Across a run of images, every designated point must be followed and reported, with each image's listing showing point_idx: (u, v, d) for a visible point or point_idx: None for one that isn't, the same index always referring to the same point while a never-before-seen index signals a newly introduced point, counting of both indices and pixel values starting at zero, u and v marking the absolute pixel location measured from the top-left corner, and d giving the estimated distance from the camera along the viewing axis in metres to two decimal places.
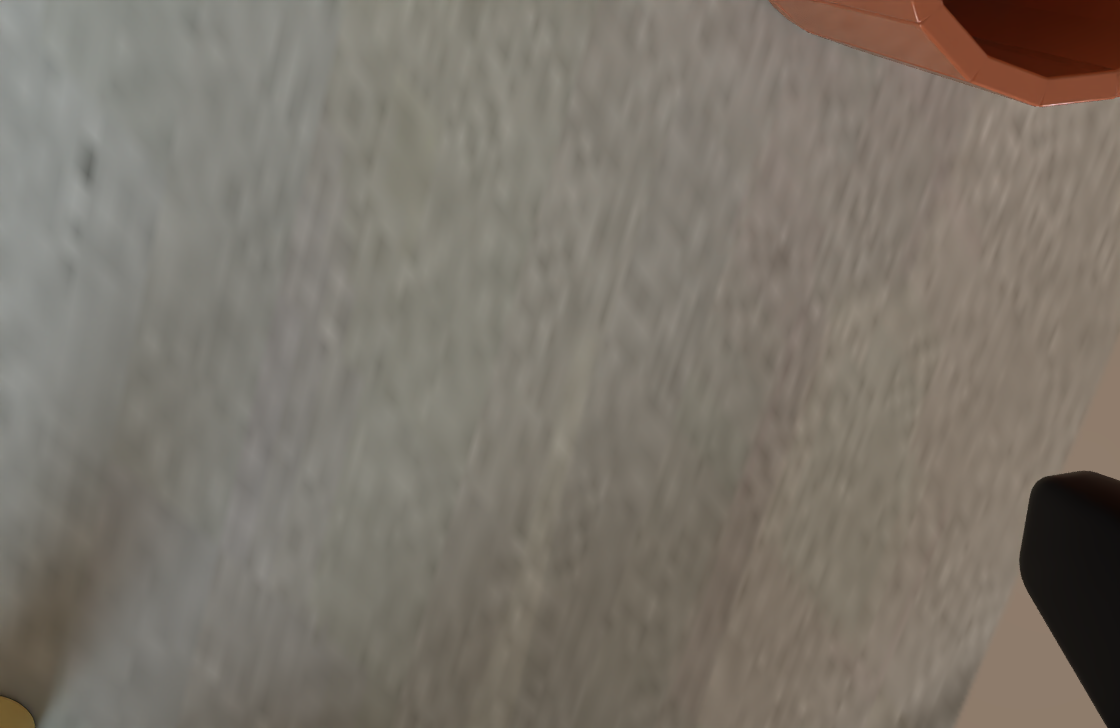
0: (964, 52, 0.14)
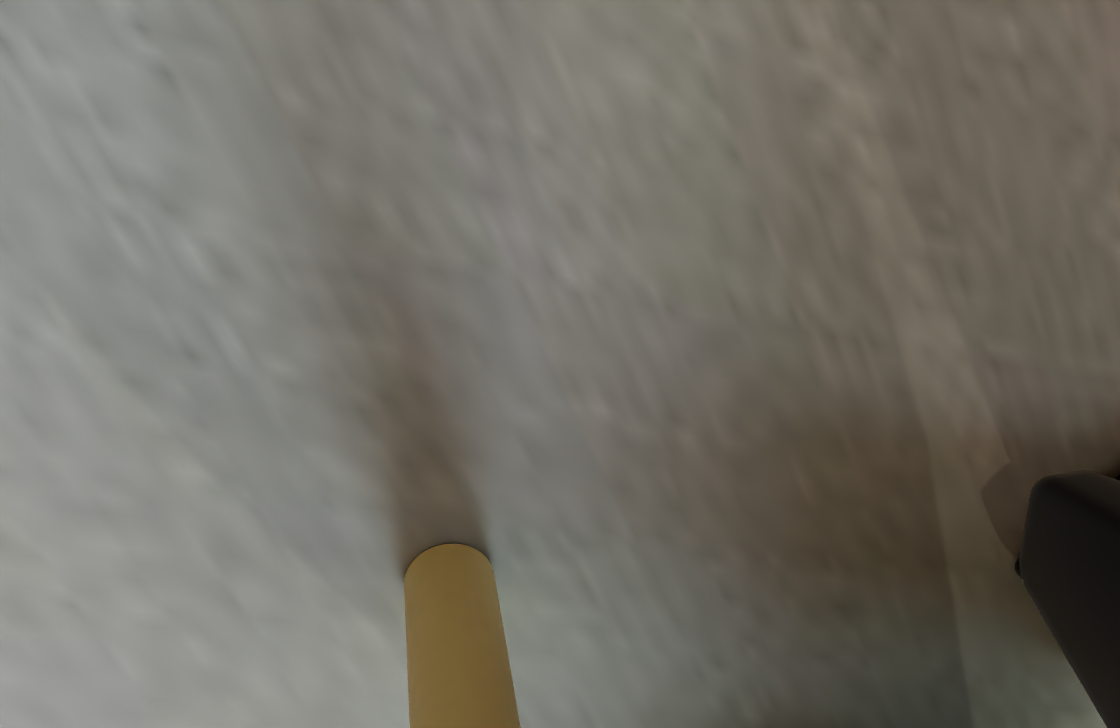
0: None
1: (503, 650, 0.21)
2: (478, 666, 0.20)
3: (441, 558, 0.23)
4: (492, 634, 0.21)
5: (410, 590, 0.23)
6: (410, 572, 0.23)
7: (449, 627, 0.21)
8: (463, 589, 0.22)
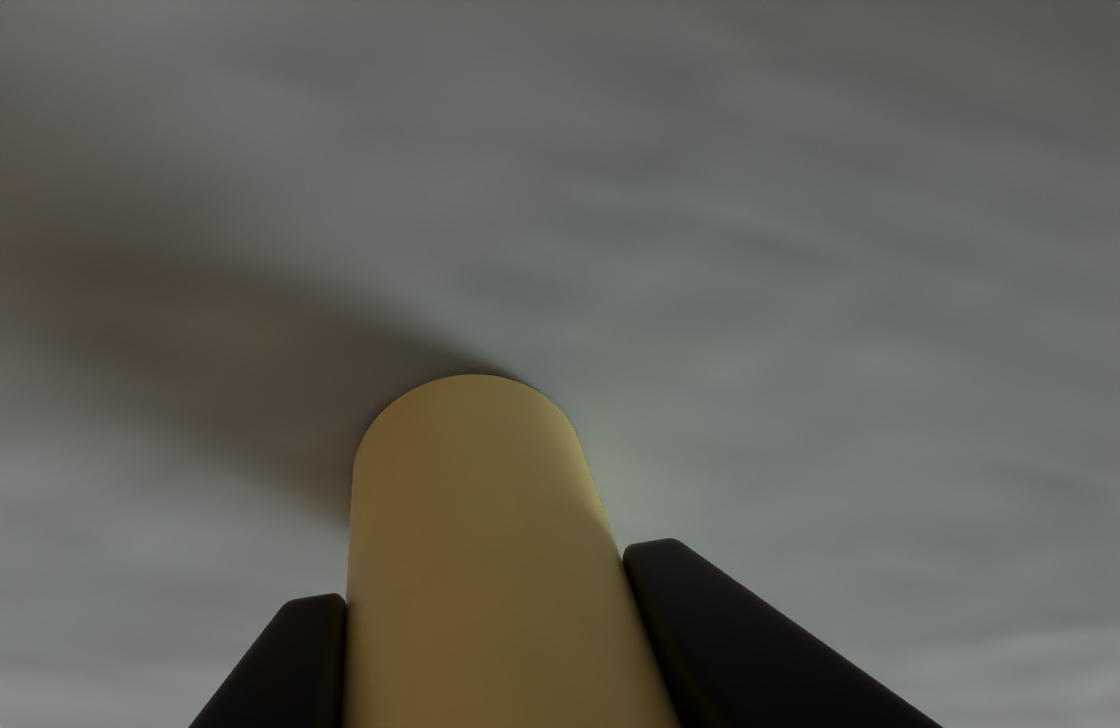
0: None
1: (544, 603, 0.06)
2: None
3: (366, 463, 0.08)
4: (488, 582, 0.06)
5: None
6: None
7: (360, 653, 0.06)
8: (398, 505, 0.07)
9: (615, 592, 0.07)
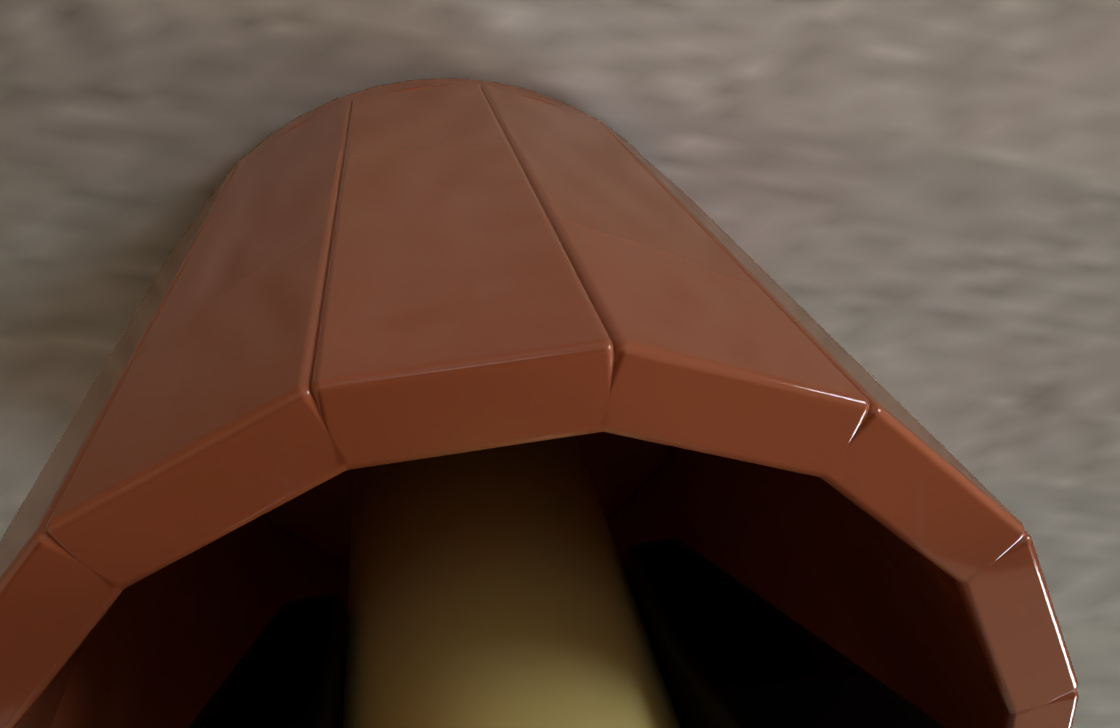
0: None
1: (545, 610, 0.06)
2: None
3: (366, 467, 0.08)
4: (488, 588, 0.06)
5: None
6: None
7: (361, 662, 0.06)
8: (399, 513, 0.07)
9: (616, 598, 0.07)
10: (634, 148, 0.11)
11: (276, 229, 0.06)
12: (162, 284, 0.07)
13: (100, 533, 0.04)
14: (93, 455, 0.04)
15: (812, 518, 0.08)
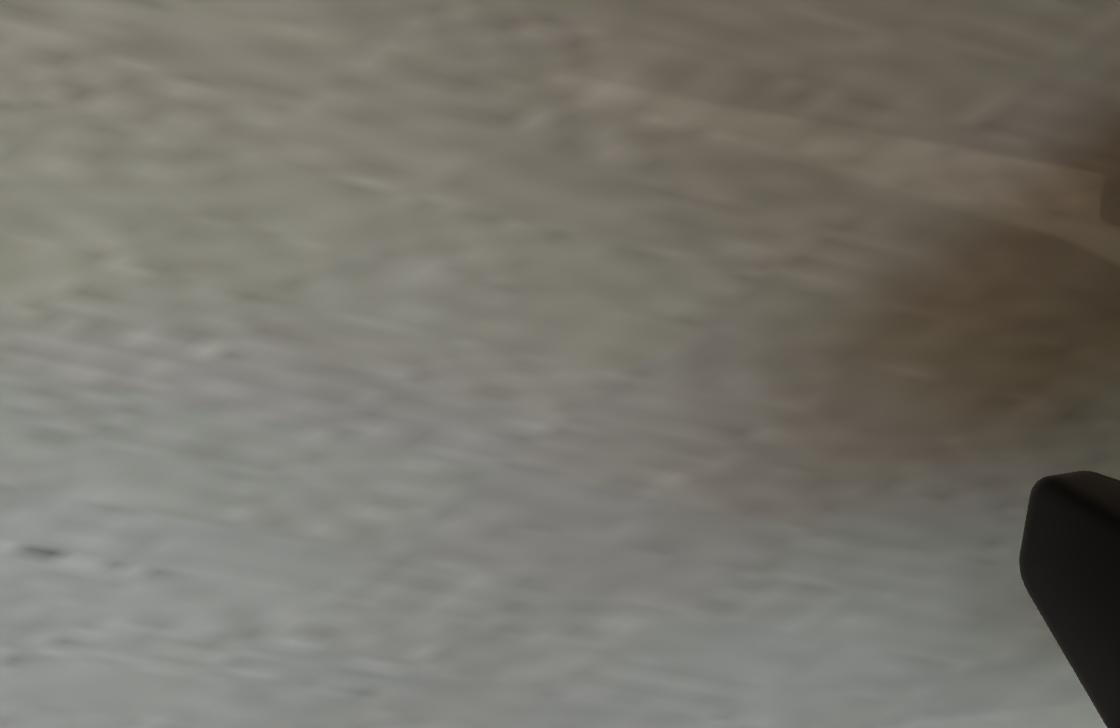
0: None
1: None
2: None
3: None
4: None
5: None
6: None
7: None
8: None
9: None
10: None
11: None
12: None
13: None
14: None
15: None
